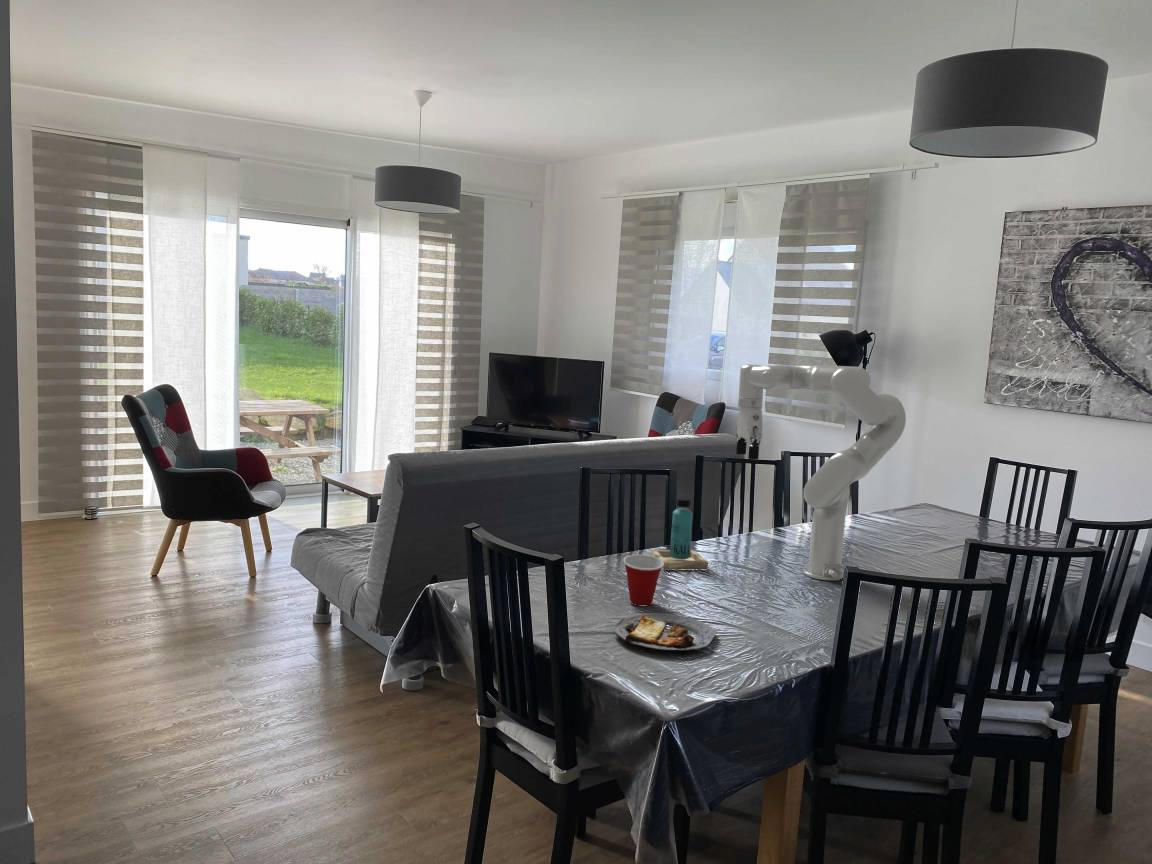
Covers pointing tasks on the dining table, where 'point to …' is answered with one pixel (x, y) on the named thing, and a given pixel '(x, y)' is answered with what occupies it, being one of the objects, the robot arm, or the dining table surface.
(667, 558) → the tray
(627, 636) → the food plate
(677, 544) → the beverage bottle
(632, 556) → the plastic cup
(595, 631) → the dining table surface
